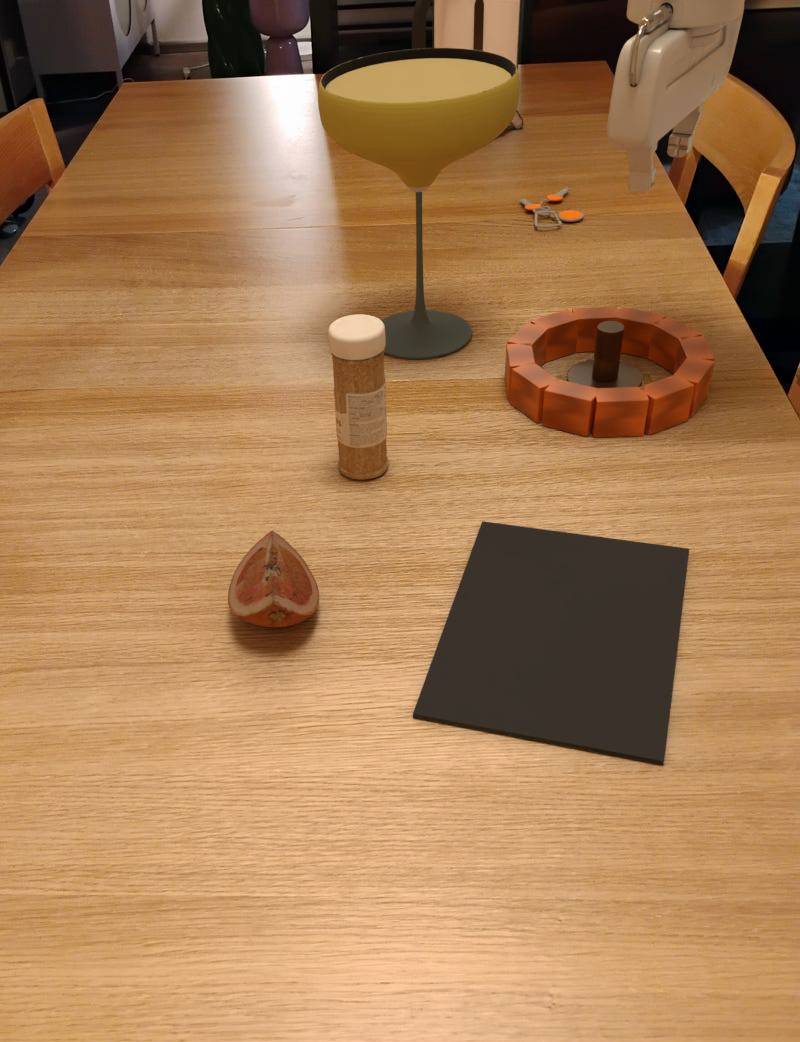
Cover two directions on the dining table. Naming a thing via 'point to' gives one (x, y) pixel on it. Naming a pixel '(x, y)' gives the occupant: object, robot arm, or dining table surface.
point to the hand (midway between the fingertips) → (660, 171)
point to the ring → (608, 406)
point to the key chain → (540, 210)
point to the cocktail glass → (419, 145)
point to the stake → (606, 362)
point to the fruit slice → (273, 585)
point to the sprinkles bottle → (360, 394)
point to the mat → (562, 641)
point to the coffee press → (471, 27)
